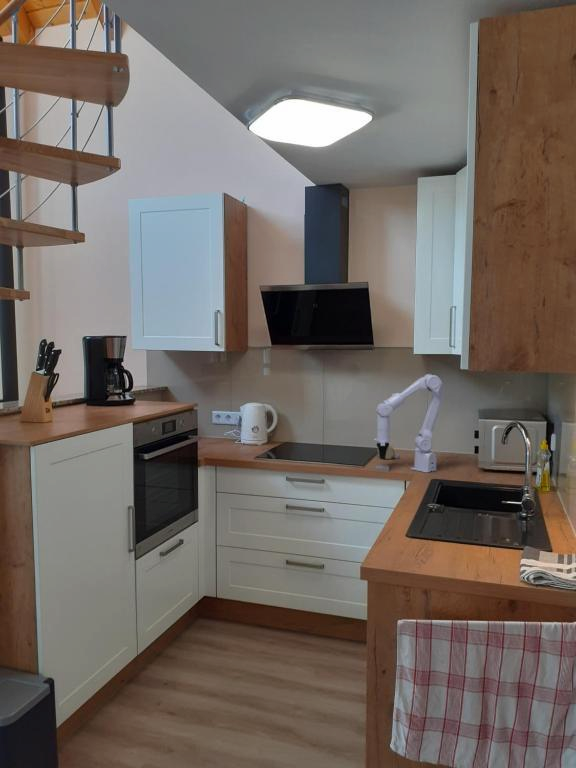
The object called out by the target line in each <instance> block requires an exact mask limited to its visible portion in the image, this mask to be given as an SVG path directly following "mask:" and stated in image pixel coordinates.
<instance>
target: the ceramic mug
mask: <svg viewBox="0 0 576 768" xmlns="http://www.w3.org/2000/svg"><path fill="white" fill-rule="evenodd" d="M386 443H388V442H386ZM377 454H379V449H378V448H377ZM400 457H401V456H400V455H399V454H398V453H396V452H395V449H394V447H393V446H392V445H391V444H390V443H389V446H388V448H387V451H386V456H385V459H384V460H392V458H395V459H398V460H399V459H400Z"/></svg>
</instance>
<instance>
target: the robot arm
mask: <svg viewBox="0 0 576 768" xmlns="http://www.w3.org/2000/svg"><path fill="white" fill-rule="evenodd" d="M426 389H427V390H428V391H429V393H430V395H431V400H430V403H429V404H428V407H427V411H426V415H425V417H424V420H423V424H422V427H421V429H420V430H419V432H418V434H417V436H415V438H414V441H413V442H414V443H413V444H414V445H415V449H414V465H413V466H414V467H410V470H413V471H418V472H423V473H431V471H432V472H435V471H438V469H437V454H436V453H435V452H432V450H431V449H432V447H433V437H434V435H433V431H434V429H435V425H436V422H437V419H438V416H439V413H440V411H441V407H442V404H443V401H444V398H445V391H444V387H443V381H442V380H441V379H440V377H439V376H437V375H435V374H433V375H432V374H430V373H427V374H425V375H424V376H422V377H420V378H419V379H417V380H416V381H414V382H413V383H412V384H410V386H408V387H407V388H406V389H404V390H403V391H401V393H399V392H396V393H392V394H391V396H390V397H388V398H387V399H385V400H383V401H382V403H379V404H378V405H377V407H376V413H377V419H376V438H374V439H373V441H376V442H377V443H376V447H377V450H378V449H379V453H378V455H379V459H380V460H386V459H385V456H386V451H387V448H388V446H389V444H390V443H389V442H390V441H391V439H390V422H391V421H390V420H391V419H390V415H392V412H393V411H395V410H396V409H398V408H399V407H400V406H402V405H403V404H404V403H405V400H406V399H407V398H409V397H410V396H412V395H413V394H415V393H416V392H417V391H419V390H426ZM386 442H387V443H386Z"/></svg>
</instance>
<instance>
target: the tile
mask: <svg viewBox="0 0 576 768" xmlns="http://www.w3.org/2000/svg"><path fill="white" fill-rule="evenodd" d="M375 472H385V473H386V472H387V473H389V472H390V465H375Z"/></svg>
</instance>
